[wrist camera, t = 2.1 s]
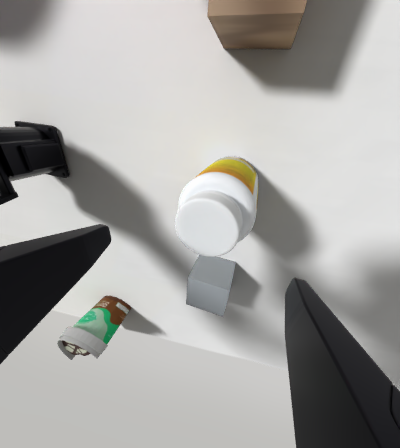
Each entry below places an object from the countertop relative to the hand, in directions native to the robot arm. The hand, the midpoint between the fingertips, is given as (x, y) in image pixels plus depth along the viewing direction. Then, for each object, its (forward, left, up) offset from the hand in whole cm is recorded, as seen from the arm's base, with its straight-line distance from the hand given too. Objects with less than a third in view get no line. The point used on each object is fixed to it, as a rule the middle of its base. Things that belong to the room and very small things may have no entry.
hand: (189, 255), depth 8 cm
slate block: (0, -13, -13) cm, 18 cm away
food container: (-22, -32, -13) cm, 40 cm away
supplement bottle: (0, 0, -13) cm, 13 cm away
